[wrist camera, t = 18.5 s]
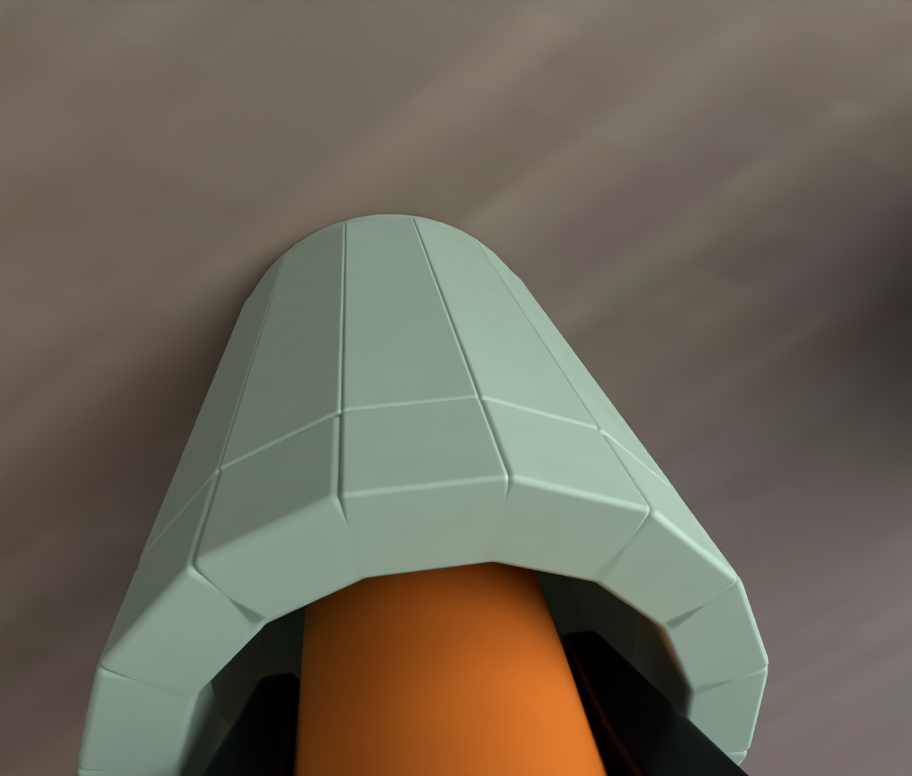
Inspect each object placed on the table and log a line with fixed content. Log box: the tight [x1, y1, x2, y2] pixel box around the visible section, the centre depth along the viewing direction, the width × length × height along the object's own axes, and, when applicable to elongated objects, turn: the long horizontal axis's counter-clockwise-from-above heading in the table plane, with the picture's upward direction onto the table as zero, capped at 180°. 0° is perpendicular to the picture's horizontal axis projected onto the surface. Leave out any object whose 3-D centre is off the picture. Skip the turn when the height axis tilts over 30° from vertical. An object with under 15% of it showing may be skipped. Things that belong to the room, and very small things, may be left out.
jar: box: [78, 214, 768, 776], centre depth 12 cm, size 7×7×10 cm
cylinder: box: [293, 562, 608, 776], centre depth 7 cm, size 3×3×4 cm
